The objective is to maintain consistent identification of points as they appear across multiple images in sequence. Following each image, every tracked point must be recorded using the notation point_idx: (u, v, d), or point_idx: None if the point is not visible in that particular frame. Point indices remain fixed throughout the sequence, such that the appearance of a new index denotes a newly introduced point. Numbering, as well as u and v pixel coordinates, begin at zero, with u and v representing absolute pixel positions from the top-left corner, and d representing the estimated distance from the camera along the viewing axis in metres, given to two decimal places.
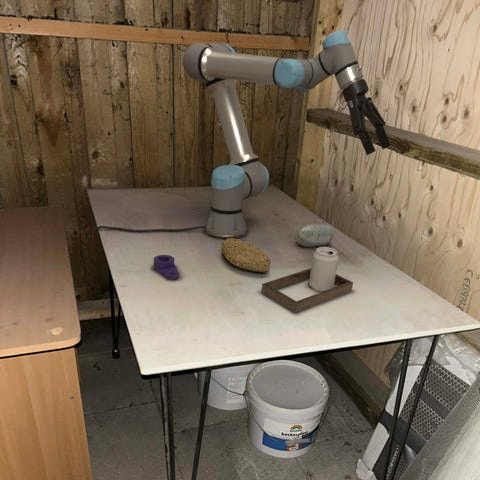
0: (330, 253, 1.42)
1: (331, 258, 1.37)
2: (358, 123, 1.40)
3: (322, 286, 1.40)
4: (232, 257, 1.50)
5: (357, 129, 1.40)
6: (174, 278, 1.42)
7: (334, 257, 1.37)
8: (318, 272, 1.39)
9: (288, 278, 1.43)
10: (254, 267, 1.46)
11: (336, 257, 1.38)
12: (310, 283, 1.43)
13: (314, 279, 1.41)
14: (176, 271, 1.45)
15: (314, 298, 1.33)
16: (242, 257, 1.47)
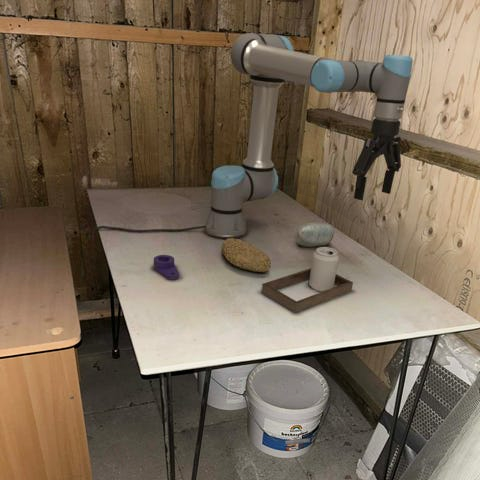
0: (330, 253, 1.42)
1: (331, 258, 1.37)
2: (360, 168, 1.31)
3: (322, 286, 1.40)
4: (232, 257, 1.50)
5: (356, 173, 1.32)
6: (174, 278, 1.42)
7: (334, 257, 1.37)
8: (318, 272, 1.39)
9: (288, 278, 1.43)
10: (254, 267, 1.46)
11: (336, 257, 1.38)
12: (310, 283, 1.43)
13: (314, 279, 1.41)
14: (176, 271, 1.45)
15: (314, 298, 1.33)
16: (242, 257, 1.47)
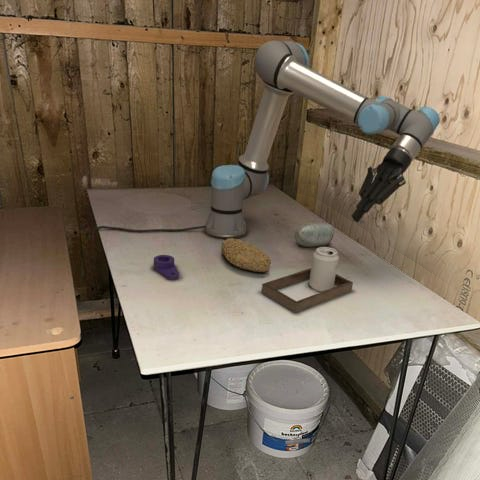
0: (330, 253, 1.42)
1: (331, 258, 1.37)
2: (384, 200, 1.39)
3: (322, 286, 1.40)
4: (232, 257, 1.50)
5: (379, 202, 1.39)
6: (174, 278, 1.42)
7: (334, 257, 1.37)
8: (318, 272, 1.39)
9: (288, 278, 1.43)
10: (254, 267, 1.46)
11: (336, 257, 1.38)
12: (310, 283, 1.43)
13: (314, 279, 1.41)
14: (176, 271, 1.45)
15: (314, 298, 1.33)
16: (242, 257, 1.47)
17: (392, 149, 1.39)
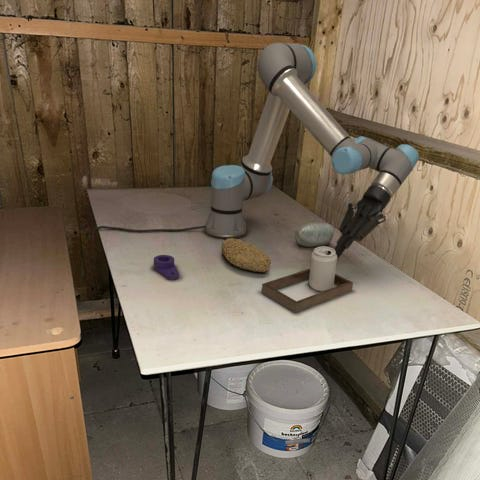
0: (329, 252, 1.42)
1: (329, 258, 1.36)
2: (364, 237, 1.40)
3: (321, 286, 1.40)
4: (232, 257, 1.50)
5: (359, 239, 1.40)
6: (174, 278, 1.42)
7: (332, 257, 1.36)
8: (317, 273, 1.38)
9: (288, 278, 1.43)
10: (254, 267, 1.46)
11: (334, 257, 1.37)
12: (310, 283, 1.43)
13: (313, 279, 1.41)
14: (176, 271, 1.45)
15: (314, 298, 1.33)
16: (242, 257, 1.47)
17: (372, 186, 1.41)
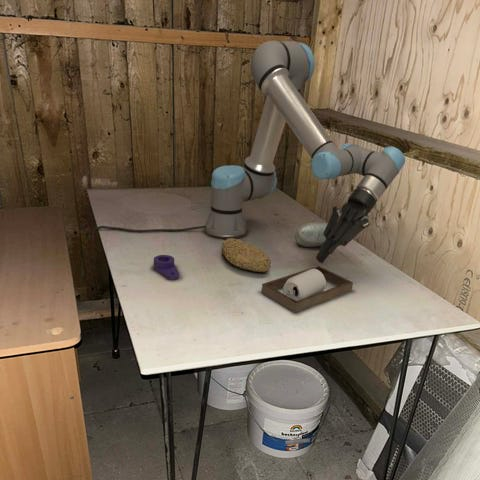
0: None
1: None
2: (348, 241, 1.37)
3: None
4: (232, 257, 1.50)
5: (343, 244, 1.36)
6: (174, 278, 1.42)
7: (301, 298, 1.32)
8: None
9: (288, 278, 1.43)
10: (254, 267, 1.46)
11: (303, 295, 1.31)
12: None
13: None
14: (176, 271, 1.45)
15: (314, 298, 1.33)
16: (242, 257, 1.47)
17: (356, 190, 1.37)
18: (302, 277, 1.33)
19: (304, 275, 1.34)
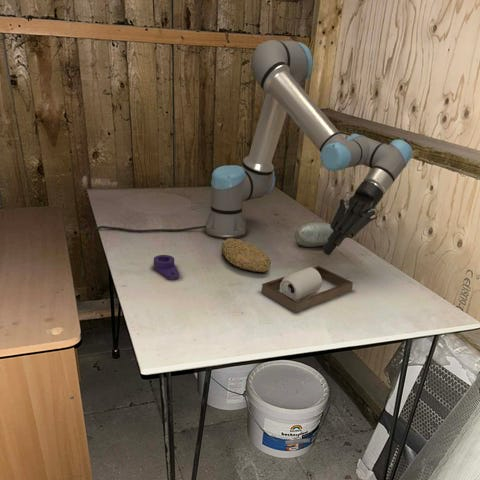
0: None
1: (298, 296, 1.33)
2: (355, 234, 1.37)
3: (315, 291, 1.39)
4: (232, 257, 1.50)
5: (350, 236, 1.37)
6: (174, 278, 1.42)
7: (298, 292, 1.32)
8: None
9: None
10: (254, 267, 1.46)
11: (299, 289, 1.32)
12: None
13: None
14: (176, 271, 1.45)
15: (314, 298, 1.33)
16: (242, 257, 1.47)
17: (364, 182, 1.38)
18: (294, 274, 1.34)
19: (296, 272, 1.35)
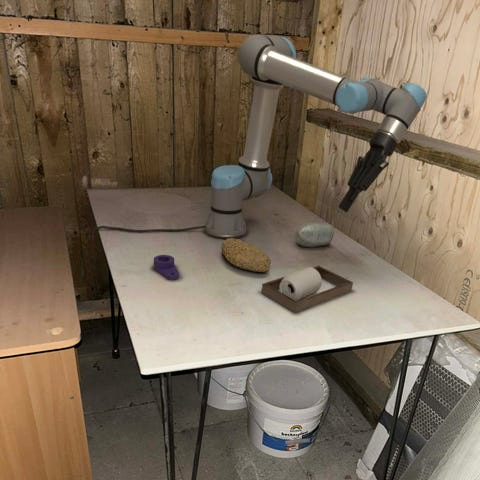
0: None
1: (298, 296, 1.33)
2: (368, 185, 1.37)
3: (315, 291, 1.39)
4: (232, 257, 1.50)
5: (363, 188, 1.37)
6: (174, 278, 1.42)
7: (298, 292, 1.32)
8: None
9: None
10: (254, 267, 1.46)
11: (299, 289, 1.32)
12: None
13: None
14: (176, 271, 1.45)
15: (314, 298, 1.33)
16: (242, 257, 1.47)
17: (374, 134, 1.38)
18: (294, 274, 1.34)
19: (296, 272, 1.35)
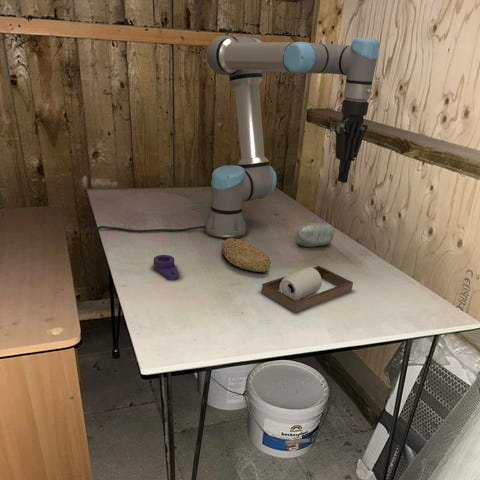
0: None
1: (298, 296, 1.33)
2: (340, 153, 1.43)
3: (315, 291, 1.39)
4: (232, 257, 1.50)
5: (339, 158, 1.45)
6: (174, 278, 1.42)
7: (298, 292, 1.32)
8: None
9: None
10: (254, 267, 1.46)
11: (299, 289, 1.32)
12: None
13: None
14: (176, 271, 1.45)
15: (314, 298, 1.33)
16: (242, 257, 1.47)
17: None
18: (294, 274, 1.34)
19: (296, 272, 1.35)
